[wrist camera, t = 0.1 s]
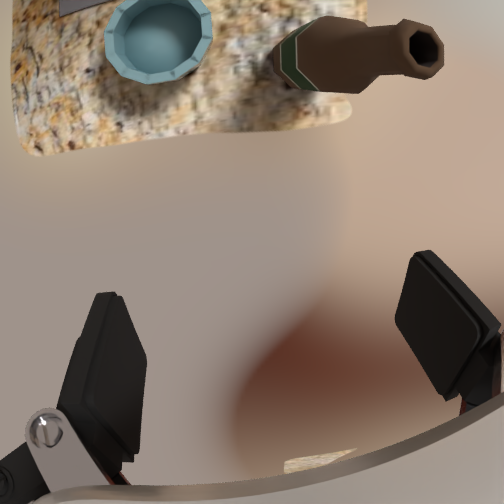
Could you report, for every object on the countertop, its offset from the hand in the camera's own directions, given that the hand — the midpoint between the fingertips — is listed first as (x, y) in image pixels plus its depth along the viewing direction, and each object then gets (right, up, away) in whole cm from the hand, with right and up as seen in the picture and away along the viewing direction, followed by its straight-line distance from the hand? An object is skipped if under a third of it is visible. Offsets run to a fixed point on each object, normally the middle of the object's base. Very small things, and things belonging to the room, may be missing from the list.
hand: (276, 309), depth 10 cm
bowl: (-11, +26, +19) cm, 34 cm away
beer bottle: (+5, +25, +23) cm, 34 cm away
